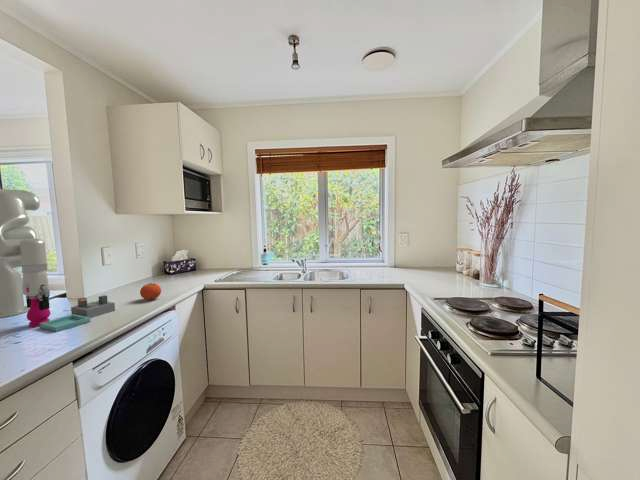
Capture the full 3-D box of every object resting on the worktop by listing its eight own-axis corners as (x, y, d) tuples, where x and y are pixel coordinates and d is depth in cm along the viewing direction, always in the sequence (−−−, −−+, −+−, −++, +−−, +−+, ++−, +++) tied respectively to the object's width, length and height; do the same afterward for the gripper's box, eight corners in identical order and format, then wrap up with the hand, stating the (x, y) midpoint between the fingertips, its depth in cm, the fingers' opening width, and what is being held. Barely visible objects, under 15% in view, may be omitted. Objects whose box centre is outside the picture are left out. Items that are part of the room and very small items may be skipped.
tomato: (151, 302, 151) (150, 284, 150) (135, 301, 153) (134, 283, 152) (165, 297, 161) (165, 280, 160) (150, 296, 163) (149, 279, 162)
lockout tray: (40, 328, 116) (39, 323, 116) (74, 318, 127) (73, 314, 127) (56, 332, 112) (56, 327, 112) (90, 322, 123) (90, 317, 123)
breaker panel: (71, 315, 131) (71, 306, 131) (99, 307, 143) (99, 299, 142) (87, 318, 127) (86, 309, 127) (114, 310, 138) (114, 302, 138)
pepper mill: (49, 320, 125) (46, 276, 124) (52, 324, 120) (48, 278, 119) (26, 325, 120) (22, 279, 118) (28, 329, 115) (24, 281, 113)
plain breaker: (99, 303, 136) (98, 296, 135) (104, 302, 138) (103, 295, 138) (102, 304, 135) (101, 297, 134) (107, 302, 137) (107, 295, 137)
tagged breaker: (78, 306, 132) (77, 298, 132) (84, 304, 134) (83, 297, 134) (81, 306, 131) (80, 299, 131) (87, 305, 133) (87, 297, 133)
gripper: (12, 268, 118) (15, 308, 119) (34, 271, 111) (37, 313, 113) (35, 266, 125) (38, 303, 126) (57, 268, 118) (60, 307, 120)
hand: (38, 308), depth 119 cm, fingers open, 9 cm apart
